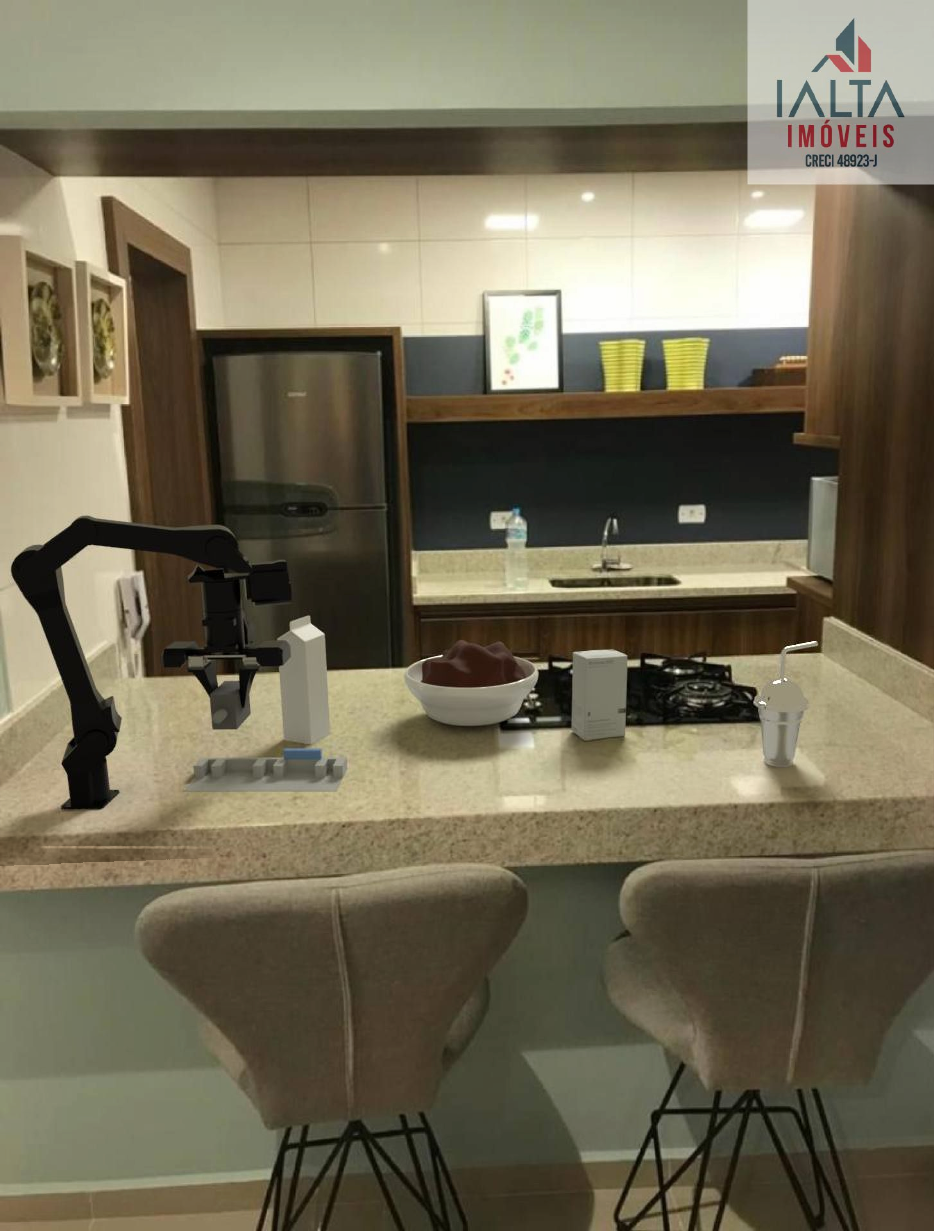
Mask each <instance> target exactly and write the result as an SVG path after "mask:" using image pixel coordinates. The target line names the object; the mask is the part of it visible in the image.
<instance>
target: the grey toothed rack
mask: <svg viewBox="0 0 934 1231" xmlns="http://www.w3.org/2000/svg"><path fill="white" fill-rule="evenodd" d="M322 750H323V749H322V748H318V747H317V748H316V747H315V748H309V747H307V748H304V747H303V748H290V747H289V748H284V749H283V756H282V757H277V756H276V757H274V756H273V757H265V756H264V757H262V756H261V757H200V758H199V759H198V760H197V762H196V763H194V764H193V776H194V777H193V779H191V781H190V782H189V783H188V784H187V785H186V787H185V788H184V789H183V791H182V792H337V791H338V789H339V788H340V785H341V783H342V781H343V779H344V777H345V775H346V773H347V770H348V760H347V756H343V757H342V756H341V757H339V756H337V757H334V756H333V757H331V756H330V757H327V756H326V757H325V756H324V757H323V751H322Z"/></svg>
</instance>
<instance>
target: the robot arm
mask: <svg viewBox="0 0 934 1231" xmlns="http://www.w3.org/2000/svg"><path fill="white" fill-rule="evenodd" d="M88 546H96V547H97V546H98V547H107V548H116V549H124V550H132V551H140V552H151V553H158V554H168V555H173V556H177V557H181V558H183V559H186V560H189V561H191V562H195V563H198V564H196V566H195V568H194V570H192V572H191V573H190V574H189V575H188V576H187V580H188V583H189V584H198V583H199V584H200V585H201V587H200V588H201V596H202V598H201V599H202V609H203V618H202V619H201V626H202V627H204V629H205V641H206V643H205V645H204V647H199V644H198V643H197V641H184V640H183V641H173V642H172V643H170V644H169V645H167V646H166V647H165V648H164V649H163V650H162V651H161V654H160V662H161V667H162V668H163V669H164V668H182V667H183V666H184V665H185V664H186V663H187V664H188V667H187V668H186V672H187V673H191V674H193V675H194V677H196V679H197V681H198V682H199V683H200V684H201V686H202V687H203V689H204V690H205V692H206V695H207V697H208V698H210V694H211V693H212V692H213V691H214V690H215V689H216V688H217V687H219V683H218V675H217V661H219V660H225V661H226V660H242V663H243V664H242V665H241V667H239V668H238V681H239V685H240V701H241V706H242V708H245V707H246V705H247V701H248V697H250V692H251V689H252V686H253V682H254V680H255V676H256V674H257V672H259V671H261V669H262V668H263V667H265V668H266V667H279V666H282V665H284V664H285V663H286V662H287V661H288V660H289V658H290V657H291V648H290V645H289V643H288V642H287V641H286V640H275V639H274V640H272V639H271V640H270V639H269V640H264V641H263V642H261V643H260V644H259V645H258V646H246V645H252V644H255V623H253V622H250V621H247V619H246V614H245V611H243V602H242V601H243V600H242V599H243V598H242V590H241V589H242V588H241V580H243V582H244V586H243V587H244V595H245V600H246V601H250V602H251V603H253V607H265V606H276V605H289V604H292V583H291V582H290V576H289V571H288V562H287V560H285V559H276V560H273V561H264V562H263V561H261V562H250V560H249V558H248V556H246V555H244V554H243V553H242V552H241V550H239V544H238V542H237V539H236V536H235V535H234V533H233V532H232V531H231V529H230V528H228V527H226V526H224V525H221V524H205V525H203V524H202V525H191V526H181V527H179V526H178V527H171V526H164V525H154V524H147V523H139V522H130V521H121V520H114V519H113V520H112V519H105V518H97V517H93V516H91V515H81V516H78V517H77V518H76V519H74V521H72V523H71V524H70V525H69V526H67V527H66V528H65V529H63V530H62V531H60V532H58V533H57V534H56V535H54V536H52V538H51V539H49V540H48V541H47V542H45V543H44V544H32V545H29V546H28V547H26V548H24V549H23V550H22V551H21V552H20V553H18V554H17V556H15V557H14V559H13V561H12V563H11V566H10V574H11V577H12V580H13V581H14V582H15V584H16V586H17V588H18V589H19V591H20V592H21V594H22V596H23V598H24V599H25V600H26V602H27V603H28V604H29V606H30V607H31V608H32V609H33V611H34V612H35V613H36V615H37V616H38V620H39V622H40V624H41V627H42V630H43V633H44V636H45V639H46V641H47V644H48V646H49V649H50V652H51V654H52V657H53V660H54V663H55V665H56V669H57V670H58V674H59V676H60V679H61V681H62V684H63V687H64V689H65V692H66V695H67V698H68V701H69V703H70V704H69V705H70V714H71V715H70V716H71V726H72V727H71V728H72V734H73V737H72V738H71V739H70V740H69V742H68V743H67V744H66V748H65V750H64V754H63V757H62V761H61V766H62V767H63V770H64V771H65V773H66V777H67V785H68V793H69V798H68V799H67V800H65V801H64V803H62V804H61V805H60V809H61V810H103V809H104V808H106V806H108V804H109V803H110V804H111V802H112V800H114V799H115V798H116V797H117V796H118V795H119V794H120V793H121V792H120V789H110V788H111V786H110V778H109V769H108V760H107V756H110V754H111V753H112V752H113V751H114V750H115V748H116V747H117V742H118V737H119V735H118V734H119V733H120V732H121V731H120V730H121V725H122V724H121V723H122V720H123V719H122V716H121V715H120V714H119V712H118V711H117V708H116V704H115V698H114V696H113V695H111V696H109V697H107V698H104V697H103V696H102V694H101V693H100V692H99V690H98V688H97V687H96V686H97V685H96V684H95V681H94V679H93V675H92V673H91V669H90V667H89V665H88V662H87V659H86V656H85V653H84V649H83V648H82V645H81V642H80V639H79V636H78V634H77V631H76V629H75V626H74V623H73V619H72V617H71V614H70V612H69V609H68V606H67V603H66V592H65V582H64V575H63V569H62V566H63V565H65V564H67V562H69V561H70V560H71V559H72V558H74V557H76V555H77V554H79V553H80V552H81V551H83V550H84V549H85V548H87V547H88ZM200 564H202V565H205V566H208V567H212V568H210V569H209V568H208V569H207V568H206V569H204V568H203V567H202V566H201V565H200ZM225 567H226V568H228V569H230V570H231V571H234V572H235V573H234V572H233V573H228V572H227V573H225V570H224V568H225Z"/></svg>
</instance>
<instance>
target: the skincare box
mask: <svg viewBox="0 0 934 1231" xmlns="http://www.w3.org/2000/svg"><path fill="white" fill-rule="evenodd" d="M571 680H572V684H571V685H572V690H571V691H572V696H571V731H572V732H573V733H574V734H576V735H577V736H578V737H579V738H580V739H581V740H582V741H584V742H585V741H586V742H587V741H588V742H589V741H594V740H601V739H607V738H616V737H617V738H618V737H620V738H621V737H624V736H626V724H627V723H626V720H627V718H626V716H627V682H628V655H627V654H625V653H622V652H620V651H617V650H615V649H595V650H585V651H584V650H583V651H574V652H572V679H571Z"/></svg>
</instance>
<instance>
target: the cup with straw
mask: <svg viewBox="0 0 934 1231" xmlns="http://www.w3.org/2000/svg"><path fill="white" fill-rule="evenodd" d="M818 646H819V643H818V641H817V640H816V641H811V642H805V643H799V644H796V645H789V646H786V647H784V648H783V649H782V650H781V652H780V666H779V667H780V669H779V671H780V672H779V678H775V679H772V680H770V681H768V682H766V683H765V684H764V685H763V686H762V688H761V689H760V691H759V693H758V694H757V695H756V696H754V700H753V705H754V706H755V707H757V708H758V715H759V716H758V717H759V720H760V727H761V728H760V729H761V731H760V732H761V742H762V754H763V756H764V758H763V762H764V764H766V765H769V766H772V767H777V768H786V767H787V768H788V767H790V766H793V764H794V758H795V755H796V749H797V744H798V740H799V739H798V738H799V732H800V728H801V723H802V721H803V718H804V713H805V711H807V710H809V708H810V707H811V706H810V702H809V699H807V697H805V694H804V692H803V690H802V688H801V687H800V686H799V685H798V684H797V683H796V682H795V681H792V680H790V679H787V678H785V676H786V656H787V655H786V654H787V653H788V652H791V651H797V650H801V649H807V648H811V647H818Z"/></svg>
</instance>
